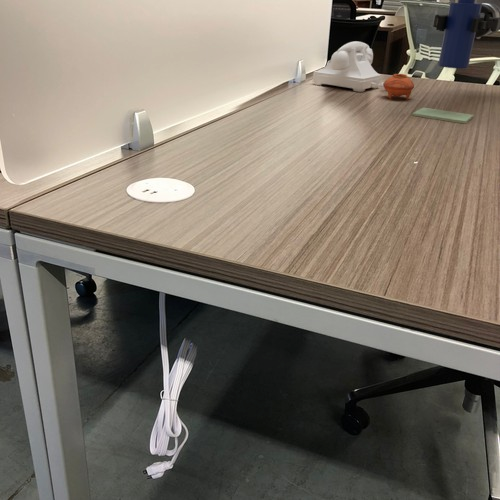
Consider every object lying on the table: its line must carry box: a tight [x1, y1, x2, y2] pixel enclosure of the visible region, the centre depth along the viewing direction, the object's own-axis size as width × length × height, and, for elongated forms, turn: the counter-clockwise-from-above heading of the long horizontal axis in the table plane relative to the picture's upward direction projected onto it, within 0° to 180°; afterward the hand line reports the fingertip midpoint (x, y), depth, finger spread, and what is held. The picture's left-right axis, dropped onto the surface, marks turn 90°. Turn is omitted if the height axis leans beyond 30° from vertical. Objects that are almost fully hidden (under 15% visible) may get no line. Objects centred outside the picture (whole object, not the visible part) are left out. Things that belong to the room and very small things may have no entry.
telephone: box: [312, 40, 385, 93], centre depth 148 cm, size 25×21×12 cm
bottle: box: [438, 0, 482, 69], centre depth 112 cm, size 6×6×17 cm
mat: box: [411, 107, 475, 125], centre depth 118 cm, size 12×8×1 cm, turn 56°
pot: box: [382, 73, 415, 100], centre depth 135 cm, size 8×8×7 cm
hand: (456, 24), depth 108 cm, fingers closed on bottle, 6 cm apart
